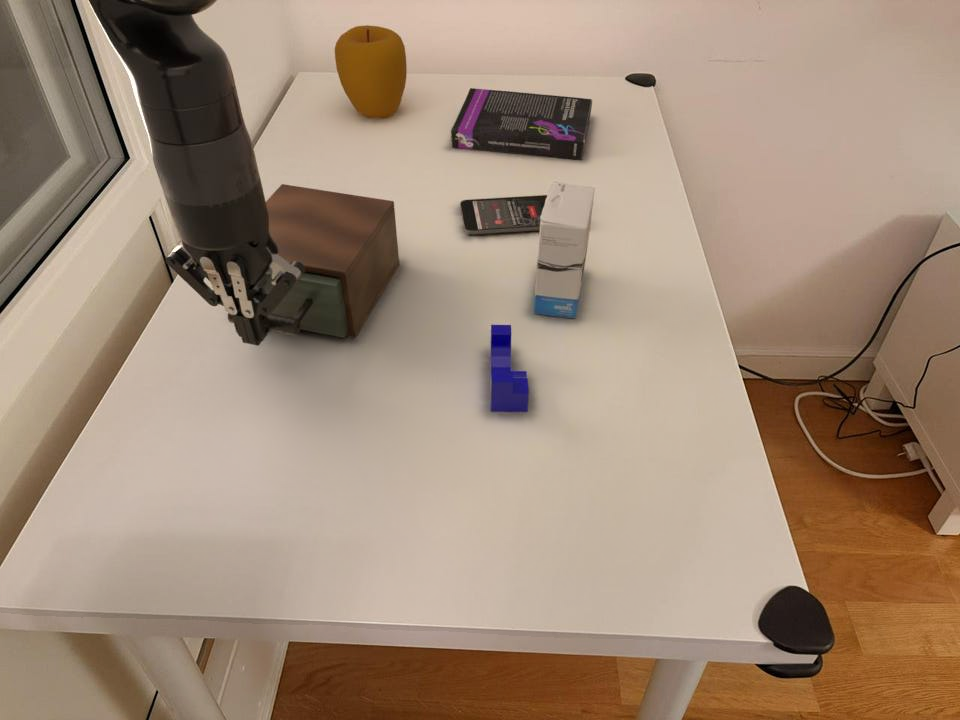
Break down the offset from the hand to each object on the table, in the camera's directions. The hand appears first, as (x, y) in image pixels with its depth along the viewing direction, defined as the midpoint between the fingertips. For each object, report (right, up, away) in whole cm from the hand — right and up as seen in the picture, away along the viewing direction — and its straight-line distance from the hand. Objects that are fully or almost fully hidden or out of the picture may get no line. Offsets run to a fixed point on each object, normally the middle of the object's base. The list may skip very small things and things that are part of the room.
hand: (255, 338), depth 70 cm
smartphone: (+27, +16, +24) cm, 39 cm away
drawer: (+3, +4, +9) cm, 10 cm away
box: (+28, +32, +41) cm, 59 cm away
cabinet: (+4, +6, +13) cm, 15 cm away
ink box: (+31, +5, +12) cm, 33 cm away
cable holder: (+24, -4, +2) cm, 25 cm away
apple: (+5, +37, +46) cm, 59 cm away
